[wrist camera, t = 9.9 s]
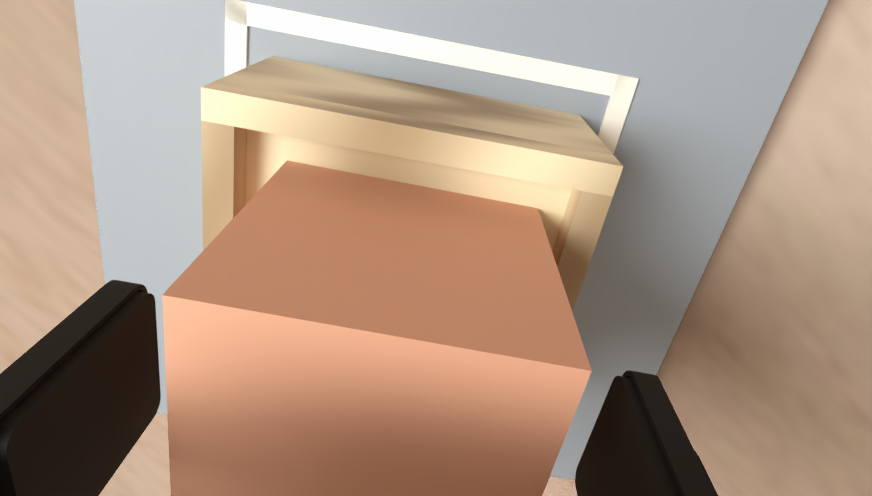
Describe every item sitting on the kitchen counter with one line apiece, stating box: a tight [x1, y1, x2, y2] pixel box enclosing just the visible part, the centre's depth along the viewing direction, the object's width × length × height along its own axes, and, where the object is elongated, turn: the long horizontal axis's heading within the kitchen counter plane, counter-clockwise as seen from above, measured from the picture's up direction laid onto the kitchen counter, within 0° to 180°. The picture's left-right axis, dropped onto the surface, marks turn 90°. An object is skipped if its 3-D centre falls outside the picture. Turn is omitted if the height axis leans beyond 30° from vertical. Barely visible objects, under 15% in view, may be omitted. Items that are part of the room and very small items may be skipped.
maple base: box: [201, 56, 623, 313], centre depth 16 cm, size 9×9×5 cm
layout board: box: [74, 0, 828, 480], centre depth 18 cm, size 20×20×1 cm
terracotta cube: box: [162, 160, 592, 496], centre depth 12 cm, size 6×6×6 cm
